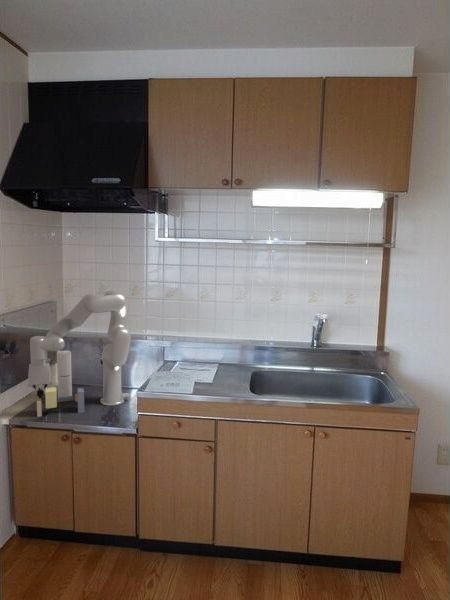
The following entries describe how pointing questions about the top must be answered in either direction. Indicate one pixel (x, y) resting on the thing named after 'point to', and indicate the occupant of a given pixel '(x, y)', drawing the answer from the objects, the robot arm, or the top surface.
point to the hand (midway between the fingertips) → (40, 397)
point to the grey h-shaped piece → (78, 398)
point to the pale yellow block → (51, 397)
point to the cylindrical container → (64, 373)
